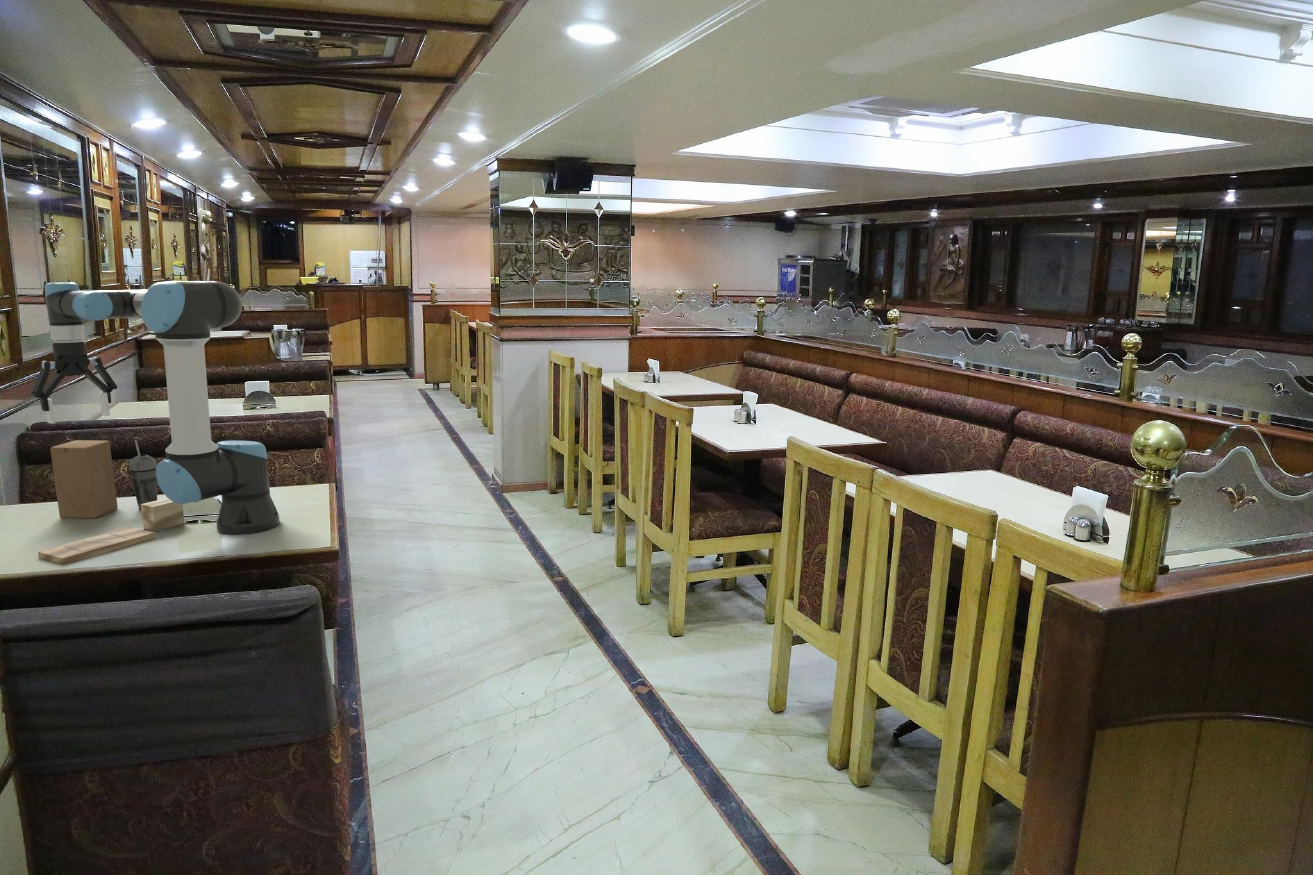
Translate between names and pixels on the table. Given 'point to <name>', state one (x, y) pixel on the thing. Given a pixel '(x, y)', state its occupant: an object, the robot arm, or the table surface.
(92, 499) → the wooden block
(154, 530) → the block
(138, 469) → the beverage cup
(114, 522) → the table surface
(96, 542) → the board
